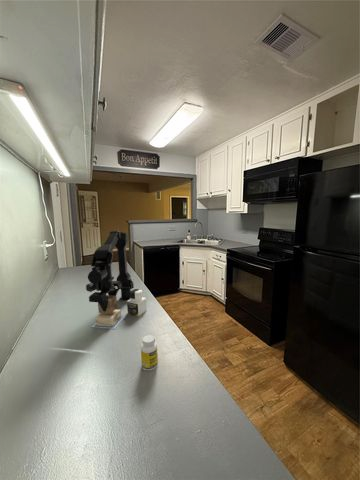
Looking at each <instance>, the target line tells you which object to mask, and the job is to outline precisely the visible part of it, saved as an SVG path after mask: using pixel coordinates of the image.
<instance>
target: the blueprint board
mask: <svg viewBox="0 0 360 480" xmlns="http://www.w3.org/2000/svg"><path fill="white" fill-rule="evenodd" d="M126 317H127V315H125V314H123V315H122V314H121V318H120V319H119V320H118V321H117V323H116V324H115V325H114V326H113V327H111V326H98V325H97V322H96V321H95V322H94V324H92V325H91V326H90V328H92V329H103V330H116V329H117V328H118V326H120V324H121V323H122V322H123V320H125V318H126Z"/></svg>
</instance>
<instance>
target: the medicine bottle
mask: <svg viewBox="0 0 360 480" xmlns="http://www.w3.org/2000/svg"><path fill="white" fill-rule="evenodd" d="M147 306H148V305H147V297H143V290H142V289H140V288H133V289H131V292H130V300H126V307H127V309H126V310H127V314H128V315H133V316H136V317H140V316H141V315H142V314H144V313H145V312H147V308H148V307H147Z"/></svg>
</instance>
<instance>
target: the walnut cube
mask: <svg viewBox="0 0 360 480" xmlns="http://www.w3.org/2000/svg"><path fill="white" fill-rule="evenodd" d="M106 298H109V299H108V304H107V308H106V311H103V310H102V308H101V306H100V304H99V303H98V302H97V306H98V313H99V314H100V313H108V314H111V313H112V312H113V311H114V310H115V309H116V310H117V308H118V299H117V295H116V296H113V295H108V294H106Z"/></svg>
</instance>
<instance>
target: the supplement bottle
mask: <svg viewBox="0 0 360 480" xmlns="http://www.w3.org/2000/svg"><path fill="white" fill-rule="evenodd" d="M155 340H156V337H155V336H154V335H151V334H148V335H145V336H143V337H142V343H141V345H140V356H141V357H140V360H141V368H142V369H143V370H144V371H153V370H155V369H156V368H157V367H158V364H159V360H158V343H157V342H156V341H155Z"/></svg>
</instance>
